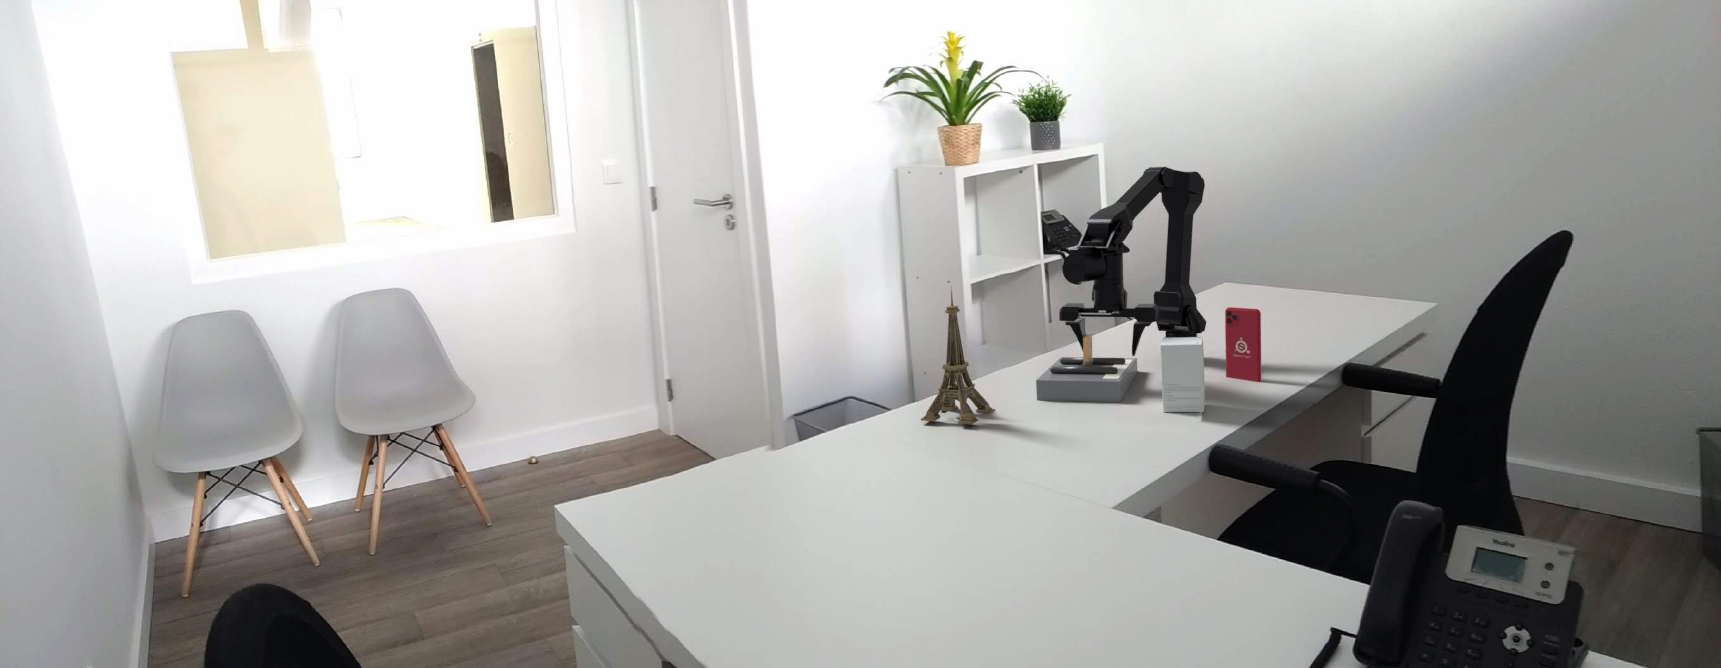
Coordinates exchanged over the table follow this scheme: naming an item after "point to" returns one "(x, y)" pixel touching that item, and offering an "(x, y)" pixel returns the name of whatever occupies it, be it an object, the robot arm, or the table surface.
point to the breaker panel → (1087, 380)
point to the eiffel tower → (956, 379)
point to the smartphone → (1243, 343)
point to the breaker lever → (1087, 351)
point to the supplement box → (1183, 374)
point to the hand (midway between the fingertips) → (1109, 355)
